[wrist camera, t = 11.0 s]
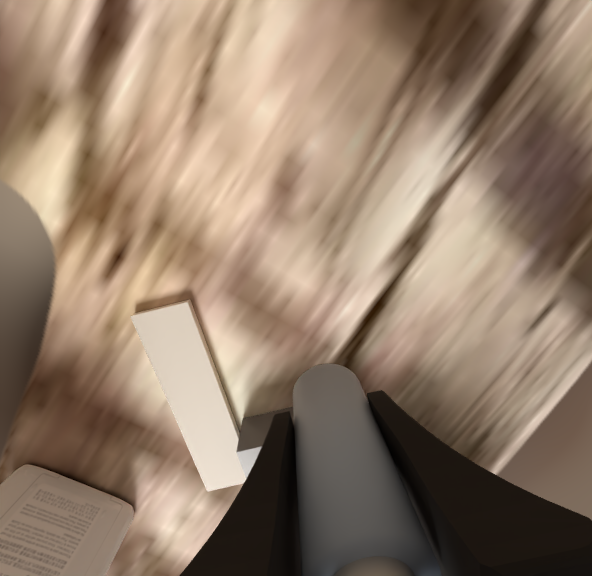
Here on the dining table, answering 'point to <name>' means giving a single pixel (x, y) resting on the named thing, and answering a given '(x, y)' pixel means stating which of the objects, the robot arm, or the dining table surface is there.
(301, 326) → the dining table surface
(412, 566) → the peg
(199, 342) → the batten
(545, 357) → the dining table surface
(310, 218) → the dining table surface
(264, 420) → the box
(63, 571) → the light grey rounded block
